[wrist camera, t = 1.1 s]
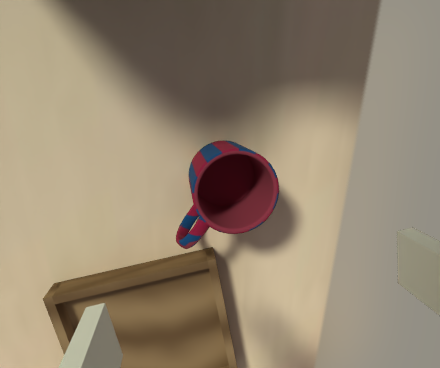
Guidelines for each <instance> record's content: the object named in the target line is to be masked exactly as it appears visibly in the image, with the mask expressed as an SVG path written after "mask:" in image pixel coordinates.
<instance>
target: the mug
mask: <svg viewBox="0 0 440 368" xmlns="http://www.w3.org/2000/svg"><path fill="white" fill-rule="evenodd" d="M189 182H190V188H191V193H192V199H193V203H194V205H193V206H192V208H191V209H190V210H189V212H188V213H187V215H186V216H185V218H184V219H183V221H182V223H181V224H180V226H179V228H178V231H177V235H176V242H177V243H178V244H179V245H180V246H181V247H183V248H185V249H188V248H190V247H192V246H194V245H195V244H196V243H197V242H198V241H199V240H200V239H201V238H202V236H203V235H204V234H205V232H206V231H207V230H208V228H209V227H211V228H213V229H215V230H217V231H219V232H223V233H228V234H238V233H244V232H247V231H250V230H252V229H254V228H256V227H258V226H259V225H261V224H262V223H263V222H264V221H265V220H266V219H267V218H268V217H269V216H270V214H271V213H272V211H273V210H274V208H275V206H276V203H277V200H278V194H279V184H278V178H277V175H276V173H275V171H274V169H273V167H272V166H271V164H270V163H269V162H268V161H267V160H266V159H265V158H264V157H262V156H261V155H259V154H257V153H255V152H253V151H251V150H249V149H247V148H245V147H243V146H241V145H239V144H237V143H234V142H231V141H216V142H213V143H210V144H208V145H206V146H205V147H203V148H202V149H201V150H200V151H199V152H197V154H196V155H195V157H194V158H193V160H192V162H191V165H190V168H189ZM199 216H200V217H199ZM198 217H199V219H198V220H197V222H196V224H195V225H194V227H193V228H192V230H191V231H190V229H191V227H192V225H193V224H194V222H195V221H196V219H197V218H198ZM189 231H190V232H189Z"/></svg>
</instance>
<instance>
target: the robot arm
mask: <svg viewBox="0 0 440 368" xmlns="http://www.w3.org/2000/svg"><path fill="white" fill-rule="evenodd" d="M397 246H398V247H397V258H398V283H399V284H400V285H401V286H402V287H404V288H405V289H406V290H407V291H409V292H410V293H411V294H412V295H414V296H415V297H416V298H418V299H419V300H420V301H421V302H423V303H424V304H425V305H426V306H428V307H429V308H430V309H431V310H433V311H434V312H436V313H437V314H438V315H439V316H440V241H439V240H437V239H435V238H433V237H431V236H428V235H427V234H424V233H423V232H421V231H419V230H417V229H415V228H413V227H412V228H408V229H404V230H400V231H397ZM122 358H123V353H122V351H121V348H120V345H119V342H118V339H117V336H116V333H115V330H114V327H113V324H112V322H111V319H110V316H109V313H108V310H107V307H106V304H105V303H102V304H98V305H94V306H89V307H86V309H85V311H84V313H83V315H82V317H81V320H80V322H79V324H78V326H77V328H76V331H75V333H74V335H73V337H72V339H71V342H70V344H69V346H68V348H67V350H66V353H65V355H64V357H63V359H62V361H61V364H60V366H59V368H120V367H121V362H122Z"/></svg>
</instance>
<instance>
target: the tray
mask: <svg viewBox="0 0 440 368" xmlns="http://www.w3.org/2000/svg"><path fill="white" fill-rule="evenodd" d="M43 301H44V303H45V306H46V309H47V311H48V314H49V316H50V319H51V321H52V324H53V327H54V329H55V332H56V334H57V337H58V339H59V342H60V345H61V347H62V350H63V352H64V355H65V353H66V350H67V348H68V346H69V344H70V342H71V339H72V337H73V335H74V333H75V331H76V328H77V326H78V324H79V322H80V320H81V317H82V315H83V313H84V311H85V309H86V307H89V306H94V305H98V304H102V303H105V304H106V307H107V310H108V313H109V316H110V319H111V322H112V324H113V327H114V330H115V333H116V336H117V339H118V342H119V345H120V348H121V351H122V353H123V358H122V362H121V367H120V368H237V364H236V359H235V354H234V349H233V344H232V339H231V334H230V329H229V324H228V319H227V314H226V309H225V304H224V299H223V294H222V289H221V284H220V279H219V274H218V269H217V264H216V259H215V255H214V251H213V247H212V248H207V249H203V250H199V251H194V252H190V253H185V254H181V255H177V256H172V257H168V258H164V259H159V260H155V261H150V262H146V263H142V264H137V265H133V266H128V267H124V268H120V269H115V270H111V271H107V272H102V273H98V274H93V275H89V276H85V277H80V278H76V279H72V280H67V281H63V282H58V283H54V284H53V286H52V287H51V289H50V290H49V291H48V293H47V294H46V295H45V297H44V298H43Z"/></svg>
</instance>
